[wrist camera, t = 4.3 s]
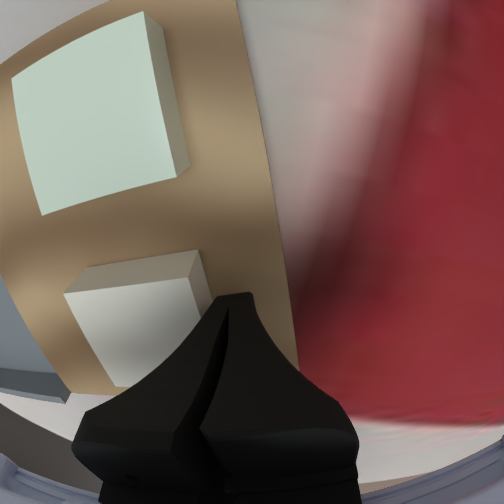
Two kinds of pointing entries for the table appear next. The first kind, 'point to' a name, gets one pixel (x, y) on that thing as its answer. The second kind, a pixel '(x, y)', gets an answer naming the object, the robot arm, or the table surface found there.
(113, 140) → the sage tile
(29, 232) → the oak board
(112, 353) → the cream tile
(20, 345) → the tray
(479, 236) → the table surface
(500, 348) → the table surface
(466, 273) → the table surface
